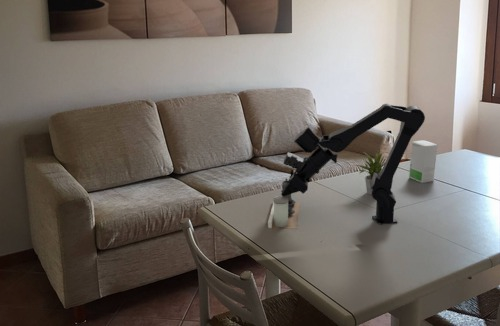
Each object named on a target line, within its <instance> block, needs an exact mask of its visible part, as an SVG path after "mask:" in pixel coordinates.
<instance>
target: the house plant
mask: <svg viewBox="0 0 500 326" xmlns="http://www.w3.org/2000/svg"><path fill="white" fill-rule="evenodd" d="M383 153H384V151H381V152H380V153H378V152H376V154H375V157H374V161H373V158H372V156H370V155H369V154H368V153H366V152H365V151H363V154H365V155H366V157H367V160H366V159H364V158H363V157H359V156H357V158H358V159H360V160H362V161H364V162H363V164H364V165H361V164H355V166H357V167H358V168H361V169H360V170H358V174H359V175H360V174H361V173H364V172H365V173H367V175H365V176H364V181H365V188H366V194H367V195H370V196H372V194H371V190H370V183H369V182H370V181H371V180H372V178H373V174H374V172H375V173H377V174H378V173H379V172H380V171H381V170H382V169H383V166H384V164H385V162H386V160H387V157H385V154H384V155H383Z"/></svg>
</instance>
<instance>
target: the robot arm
mask: <svg viewBox="0 0 500 326" xmlns="http://www.w3.org/2000/svg"><path fill="white" fill-rule="evenodd" d="M387 119H391V120H395V121H398V122H400V124H399V132H398V133H397V136H396V138H395V140H394V143H393V144H392V147H391V149H390V151H389V154H388V156H387V157H386V159H385V161H384V163H385V164H384V163H383V164H384V165H383V166H382V170H381V171H380V172H379V173H378V174H377V173H375V172H374V174H373V178H372V180H371V181H370V182H369V183H370V190H371V194H372V195H371V196H372V198H373V199H374V200H375V201H376V206H375V207H376V208H375V210H376V211H375V215H372V216H371V218H372V219H373V220H374V221H375V222H376V223H377V224H379V225H384V224H386V225H387V224H394V223H395V224H397V223H398V220H397V219H396V218H395V217H394V215H395V213H394V212H395V206H396V204H397V201H396V200H397V199H396V197H395V194H394V193H393V191H392V186H393V181H394V180H393V179H394V176H395V174H396V171H397V169H398V167H399V165H400V163H401V161H402V159H403V157H404V154H405V152H406V151H407V149H408V146H409V145H410V141H411V139H412V138H413V137H414V136H415V134H417V132H418V131H419V130H420V128H421V127H422V126H423V124H424V123H425V121H426V120H425V119H426V117H425V114H424V112H423V111H422V110H421V108H419V107H418V106H416V105H409V106H402V105H394V104H390V103H384V104H382V105H381V106H380V107H379V108H377V109H375V110H373V111H371V113H368V114H367V115H365V116H363V117H362V118H360V119H359V120H357V121H355V122H354V123H352V124H350V125H348V126H345V127H342V128H339V129H337V130H335V131H332V132H331V133H330V134H325V135H321V136H320V135H319V136H318V135H317V133H315V132H314V131H313V129H312V128H311V127H310V126H307V127H306V128H305V129H303V130H302V131H300V132H299V133H298V134H297V135H296V136H295V138H294V139H293V140H292V141H293V142H294V143H295V144H296V145H297V146H298V147H299V148H300V149H301V150H302V151H303V152H304V153H306V154H307V153H310V155H309V156H305V157H304V158H302V157H301V156H298V155H296V154H294V153H291V152H287V153H286V155H285V158H284V159H283V164H284V165H285V166H289V167H291V168H293V169H294V170H293V169H290V176H289V178H288V179H287V180H288V181H290V183H289V184H288V185H287V187H286V188H285V189H284V191H283V192H281V194H280V196H286V195H289V194H291V195H292V194H296V193H298V192H300V193H301V194H305V193H306V192H307V191H308V188H309V187H308V186H309V184H308V183H309V182H311V179H312V178H313V177H314V176H315V175H318V174H319V173H320V171H321V169H322V168H324V167H325V166H326V165H327V164H328V163H329V162H330V161H332V162H333V163H334V164H337V163H338V161H337V160H338V159H337V157H338V153H341V152H343V151H344V150H345V149H346V148H347V147H349V146H350V145H351V144H352V143H353V141H354V140H355V139H357V138H358V137H360V136H361V135H362V134H364V133H366V132H368V131H369V130H370V129H372V128H374V127H376V126H377V125H379V124H381V123H382V122H383V121H385V120H387Z"/></svg>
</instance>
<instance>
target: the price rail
mask: <svg viewBox="0 0 500 326" xmlns="http://www.w3.org/2000/svg"><path fill="white" fill-rule="evenodd" d="M277 196H278V195H277ZM277 196H274V197H277ZM272 203H273V204H272V206H271V210H270V214H269V216H268V220H267V229H273V228H272V224H273V220H274V202H272Z"/></svg>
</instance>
